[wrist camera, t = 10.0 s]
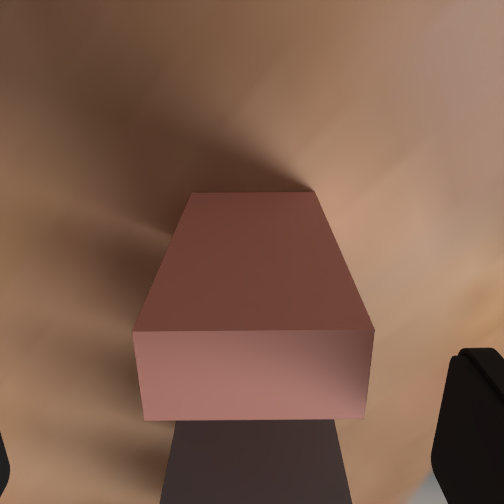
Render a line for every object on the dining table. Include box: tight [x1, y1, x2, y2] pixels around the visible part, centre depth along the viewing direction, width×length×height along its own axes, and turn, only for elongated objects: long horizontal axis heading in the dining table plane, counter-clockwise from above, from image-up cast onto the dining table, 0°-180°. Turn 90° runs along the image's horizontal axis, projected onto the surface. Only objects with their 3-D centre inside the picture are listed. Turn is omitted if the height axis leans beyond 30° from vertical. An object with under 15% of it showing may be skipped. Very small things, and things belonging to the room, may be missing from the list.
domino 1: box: [132, 191, 375, 421], centre depth 14 cm, size 2×5×10 cm, turn 90°
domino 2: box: [160, 419, 352, 504], centre depth 17 cm, size 2×5×10 cm, turn 90°
